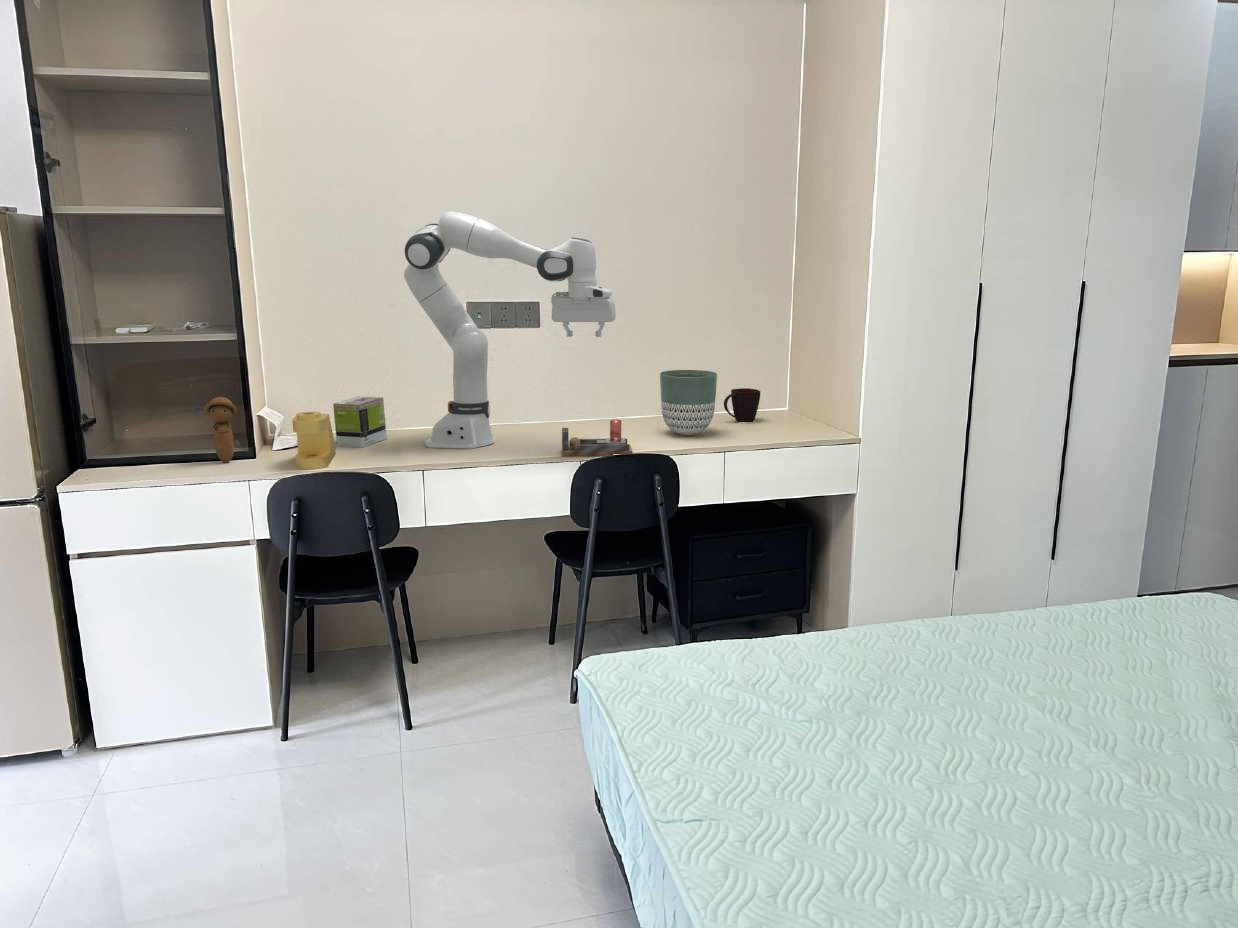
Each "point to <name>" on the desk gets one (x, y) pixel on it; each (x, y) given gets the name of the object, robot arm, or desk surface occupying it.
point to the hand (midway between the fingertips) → (584, 336)
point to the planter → (688, 400)
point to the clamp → (313, 440)
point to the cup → (743, 404)
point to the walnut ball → (574, 441)
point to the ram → (613, 434)
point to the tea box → (359, 421)
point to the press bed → (592, 447)
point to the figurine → (222, 426)
